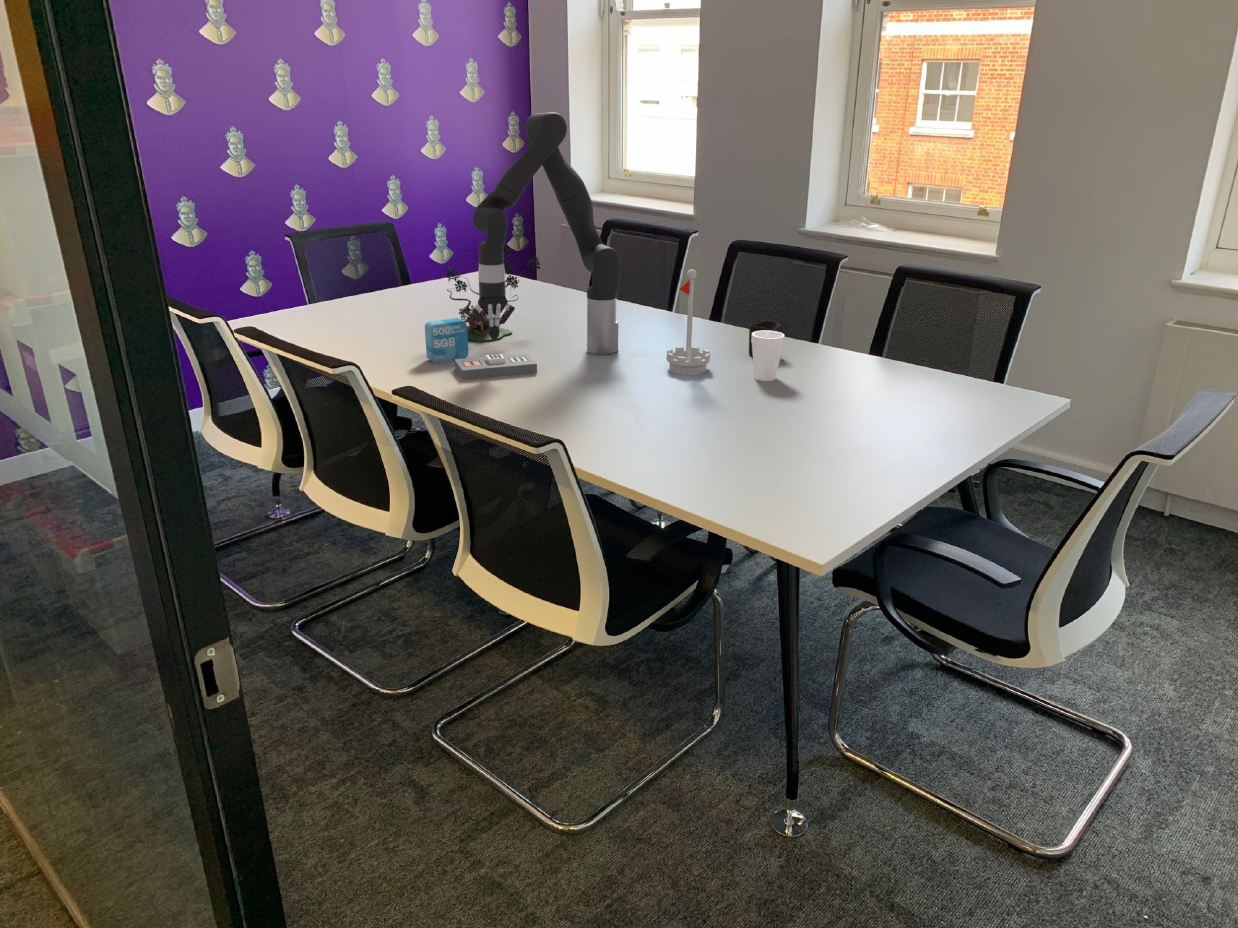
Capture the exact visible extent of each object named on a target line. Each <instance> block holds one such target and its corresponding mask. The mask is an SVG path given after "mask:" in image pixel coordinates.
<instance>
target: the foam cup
mask: <svg viewBox="0 0 1238 928" xmlns="http://www.w3.org/2000/svg"><path fill="white" fill-rule="evenodd" d="M751 343H752V352H753V357H752V365H753V376H754V377H753V378H754V380H757V381H762V382H772V381H775V380H776V378H777V374H778V370H779V366H780V361H781V356H782V350H783V345H784V344H785V334H784V333H783V332H780V331H779V332H777V331H769V330H762V331H755V332H753V333H752V337H751Z"/></svg>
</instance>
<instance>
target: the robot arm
mask: <svg viewBox="0 0 1238 928" xmlns="http://www.w3.org/2000/svg"><path fill="white" fill-rule="evenodd" d="M524 129H525V135H526V139H527V140H528V142H529V144H530V145H529V146H528V148H527V149H526V150H525V151H524V152H523V154H522V155H520V156H519V158H517V160H515V161H514V162H513V163H512V164H511V165H510V166H509V167H508V168H507V170H506V171H505V172H504V173H503V174H502V176H501V178H500V179H499V181H498V182H497V184H496V186H495V188H494V189H493V190H492V191H491V192H490V193H489V194H488V195H487V196H486V197H485V198H484V199H483V200H482V201H481V202H480V203H479V204H478V205H477V206H476V208H475V209H474V211H473V213H472V214H473V215H472V220H471V221H472V226H473V227H474V228H475V230H477V231H479V232H482V233H486V239H485V240H484V241H485V242H484V241H482V242H481V243H480V244H479V245H478V270H477V271H478V293H479V295H478V297H479V298H478V300H477V304H476V305H475V306H473V307H472V308H470V309H471V311H470V312H473V313H474V314H475V315H476V316H477V317H478V319H479V320H480V321H481V322H482V323H483V324H484V325H487V326H488V331H489V336H490V337H491V339H497V337H499V326H500V327H501V326H502V325H504V324H505V323H506V322H508V320H509V318H510V317H511V315H512V314H513V312H514V311H515V309H516V308H515V306H514V305H513V304H510V302H508V301H509V300H508V299H507V297H506V296H507V295H506V293H507V292H506V288H505V286H506V282H505V280H506V279H507V277H506V274H505V273H506V272H505V268H504V267H505V266H504V262H505V261H504V260H505V257H504V255H505V254H504V253H505V252H503V248H504V244H505V243H506V239H507V233H508V229H509V228H508V227H509V220H508V217H507V214H506V213H505V212H504V210H508V209H511V208H513V207H514V206H515V205H516V204H517V203H518V200H519V199H520V197H521V196H522V194H523V192H524V191H525V190H526V188H527V186H528V184H529V183H530V182H531V181H532V179H533V177H534V176H535V174H536V173H537V172H538V170H540V168H541V167H543V169H544V172H545V175H546V176H547V177H546V178H547V179H548V181H549V184H550V185H551V188H552V190H553V192H554V194H555V197H556V200H557V202H558V204H559V206H560V208H561V211H562V213H563V215H564V217H565V220H566V221H567V223H568V226H569V229H570V230H571V233H572V234H573V236H574V239H575V241H576V245H577V248H578V250H579V254H580V257H581V260H582V262H583V266H584V268H585V269H586V271H588V272H589V273H591V274H592V282H591V286H589V287H588V288H587V290H586V351H587V352H588V353H590V354H593V355H610V354H614V353H618V352H619V322H618V321H617V295H618V291H619V288H620V278H621V277H620V276H621V274H620V273H621V259H620V255H619V253H618V252H617V250H616V249H615V248H612V247H610V246H607V245H606V244H604V242H603V241H602V239H601V236H600V235H599V233H598V231H597V228H596V226H595V225H596V224H595V220H594V206H593V203H592V199H591V196H590V194H589V191H588V190H587V189H588V188H587V187H586V185H585V183H584V182H585V181H584V180H583V179H582V177H581V176H580V175H579V173H577V171H576V170H575V168H573V167H572V166H571V165H570V163H568V161H567V160H566V158H565V157H564V156H563V154H562V152H561V150H560V148H559V147H560V145H561V144H562V143H563V142H564V140H565V138H566V135H567V134H568V133H567V131H568V126H567V123H566V120H565V118H564V117H563V116H562V114H560V113H558V112H554V111H553V112H552V111H548V112H547V111H545V112H540V113H533V114H531V115H530V116H529V117H528V118H527V119H526V122H525V127H524ZM480 307H481V309H480ZM481 310H483V311H484V312H485V313H486V316H487V320H485V319H484V318H483V317H482V315H481V314H480V312H481ZM503 311H504V312H503ZM502 312H503V313H502ZM501 313H502V315H501ZM493 317H494V318H493ZM493 323H494V324H493Z"/></svg>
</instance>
